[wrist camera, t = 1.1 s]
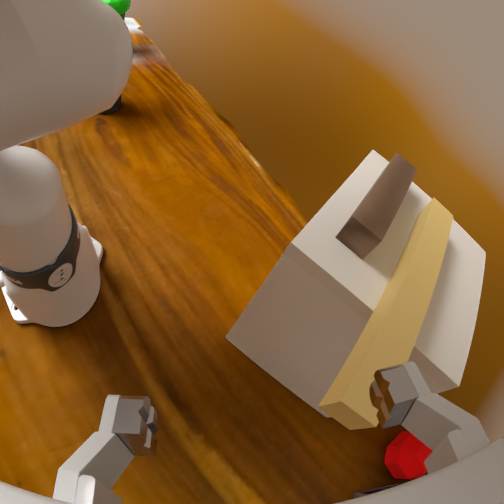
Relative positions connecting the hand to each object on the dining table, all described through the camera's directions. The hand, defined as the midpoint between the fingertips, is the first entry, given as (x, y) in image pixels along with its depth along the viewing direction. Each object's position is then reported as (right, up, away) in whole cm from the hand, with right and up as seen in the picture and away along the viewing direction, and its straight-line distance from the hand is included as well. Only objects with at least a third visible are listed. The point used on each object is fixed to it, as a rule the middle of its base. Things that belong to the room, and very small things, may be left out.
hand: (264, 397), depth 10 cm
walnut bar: (+12, +9, +20) cm, 25 cm away
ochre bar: (+12, +1, +15) cm, 19 cm away
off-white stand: (+9, -8, +40) cm, 42 cm away
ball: (+24, -29, +32) cm, 49 cm away
